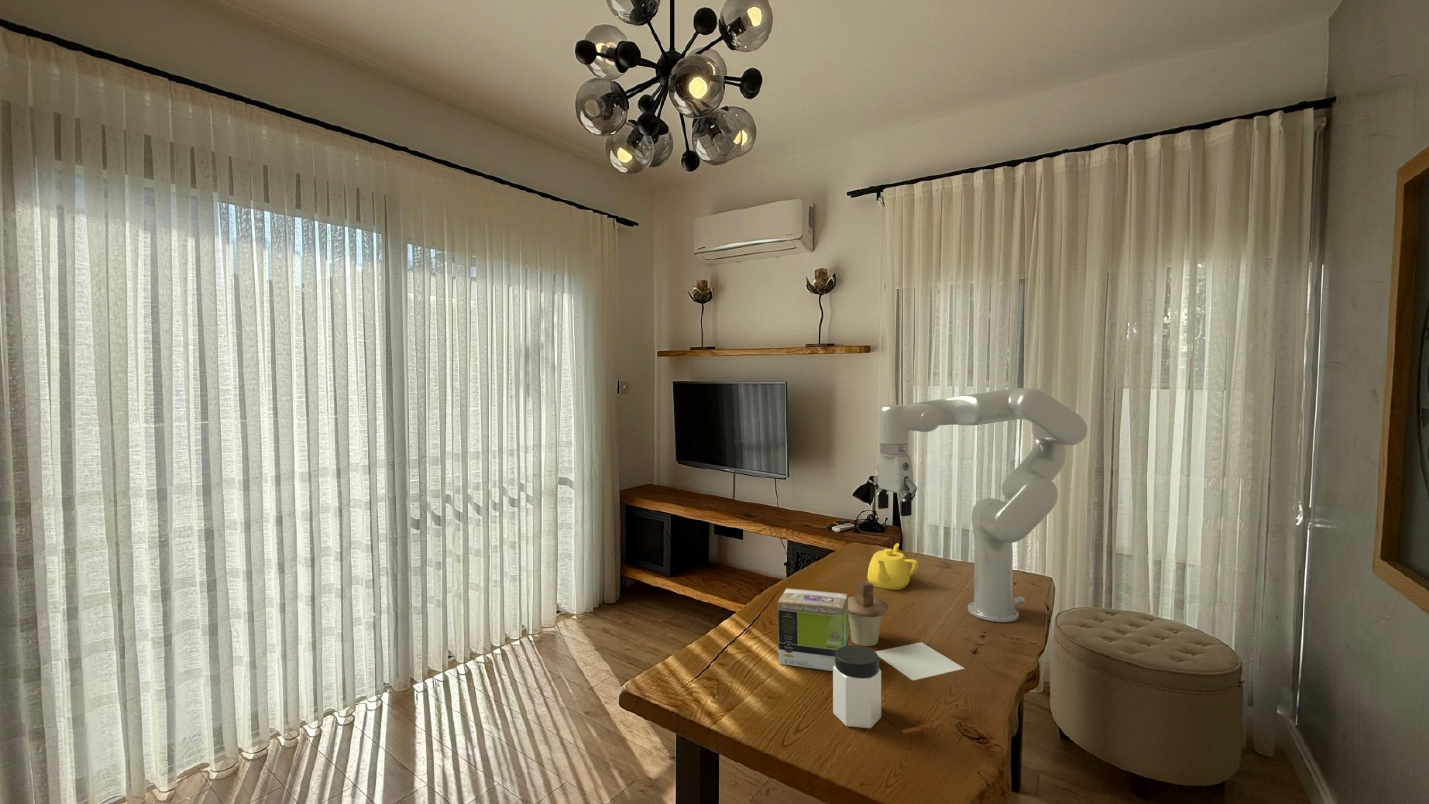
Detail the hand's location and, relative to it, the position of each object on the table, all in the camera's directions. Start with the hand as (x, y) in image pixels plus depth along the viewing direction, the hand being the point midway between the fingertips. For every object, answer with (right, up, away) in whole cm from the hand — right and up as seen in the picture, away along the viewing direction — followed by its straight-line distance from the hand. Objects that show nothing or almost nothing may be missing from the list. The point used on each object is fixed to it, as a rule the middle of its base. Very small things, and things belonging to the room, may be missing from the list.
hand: (894, 512), depth 159 cm
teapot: (+7, -28, +25) cm, 38 cm away
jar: (-22, -30, -48) cm, 61 cm away
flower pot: (-12, -29, -17) cm, 36 cm away
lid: (-12, -20, -17) cm, 29 cm away
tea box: (-26, -30, -25) cm, 47 cm away
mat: (-3, -29, -27) cm, 40 cm away
